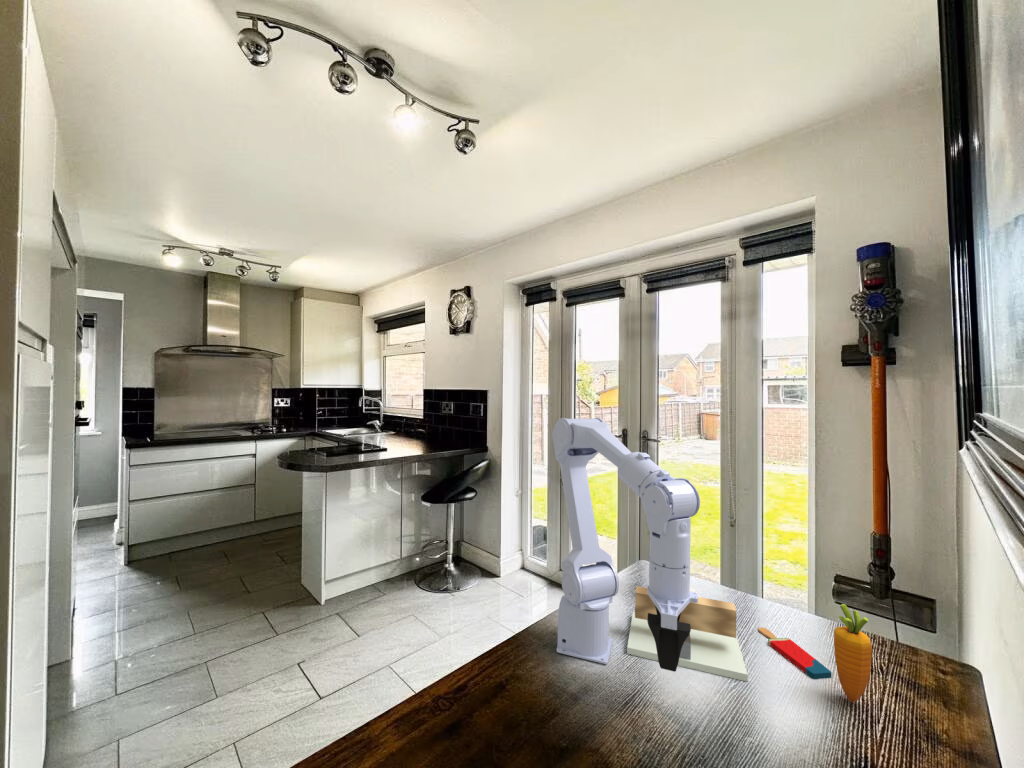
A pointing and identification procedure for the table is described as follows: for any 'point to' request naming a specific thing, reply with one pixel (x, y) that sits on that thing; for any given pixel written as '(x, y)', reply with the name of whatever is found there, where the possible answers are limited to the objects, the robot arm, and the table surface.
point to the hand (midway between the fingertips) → (667, 652)
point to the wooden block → (695, 613)
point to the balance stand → (693, 650)
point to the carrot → (852, 655)
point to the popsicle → (797, 656)
